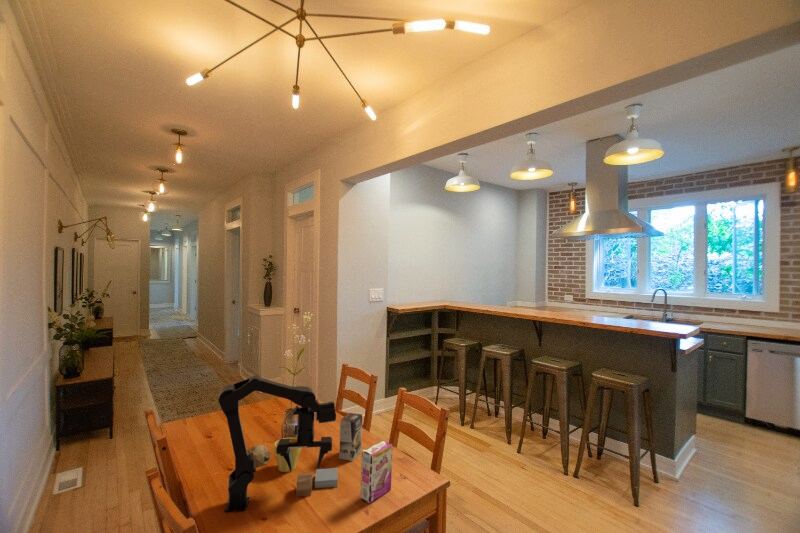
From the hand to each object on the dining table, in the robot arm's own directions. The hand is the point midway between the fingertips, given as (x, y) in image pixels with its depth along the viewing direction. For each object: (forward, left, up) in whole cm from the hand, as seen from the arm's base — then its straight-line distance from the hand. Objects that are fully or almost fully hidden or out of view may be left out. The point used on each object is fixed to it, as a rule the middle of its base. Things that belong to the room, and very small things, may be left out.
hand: (304, 469), depth 130 cm
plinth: (+6, -8, -8) cm, 12 cm away
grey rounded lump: (+24, +21, -8) cm, 33 cm away
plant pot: (+17, +8, -8) cm, 20 cm away
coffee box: (+24, -17, -8) cm, 31 cm away
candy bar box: (-5, -25, -8) cm, 27 cm away
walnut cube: (0, 0, -8) cm, 8 cm away
